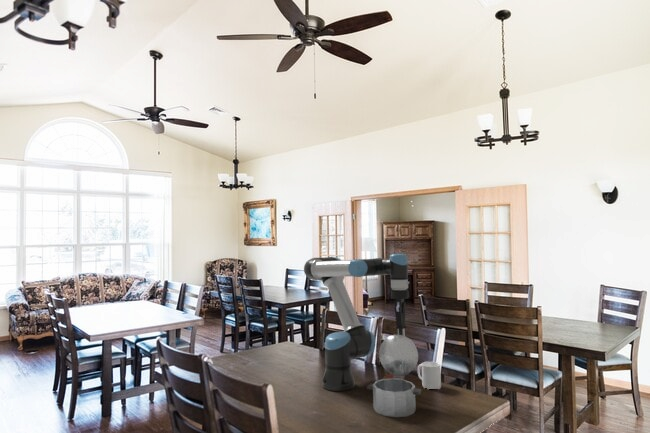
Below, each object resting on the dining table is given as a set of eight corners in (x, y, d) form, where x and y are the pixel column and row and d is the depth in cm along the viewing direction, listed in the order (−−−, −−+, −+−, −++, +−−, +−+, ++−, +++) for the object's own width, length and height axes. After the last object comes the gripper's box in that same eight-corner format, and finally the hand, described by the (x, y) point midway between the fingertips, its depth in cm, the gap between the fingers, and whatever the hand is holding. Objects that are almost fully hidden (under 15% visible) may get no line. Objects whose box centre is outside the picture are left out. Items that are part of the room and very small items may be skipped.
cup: (433, 391, 181) (432, 367, 182) (412, 384, 190) (411, 362, 191) (445, 387, 186) (444, 364, 186) (424, 380, 195) (423, 358, 196)
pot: (363, 412, 159) (362, 388, 160) (374, 397, 175) (374, 375, 175) (417, 420, 151) (417, 395, 152) (424, 403, 167) (423, 380, 168)
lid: (379, 333, 178) (380, 333, 180) (378, 375, 174) (379, 375, 176) (417, 336, 172) (418, 335, 174) (417, 379, 168) (418, 379, 170)
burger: (399, 381, 195) (399, 371, 195) (407, 388, 186) (407, 378, 186) (380, 383, 193) (379, 373, 193) (386, 390, 184) (386, 379, 184)
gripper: (405, 290, 174) (407, 347, 172) (410, 287, 186) (412, 341, 184) (387, 290, 176) (389, 346, 175) (394, 287, 188) (396, 340, 187)
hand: (401, 343), depth 179 cm, fingers closed
